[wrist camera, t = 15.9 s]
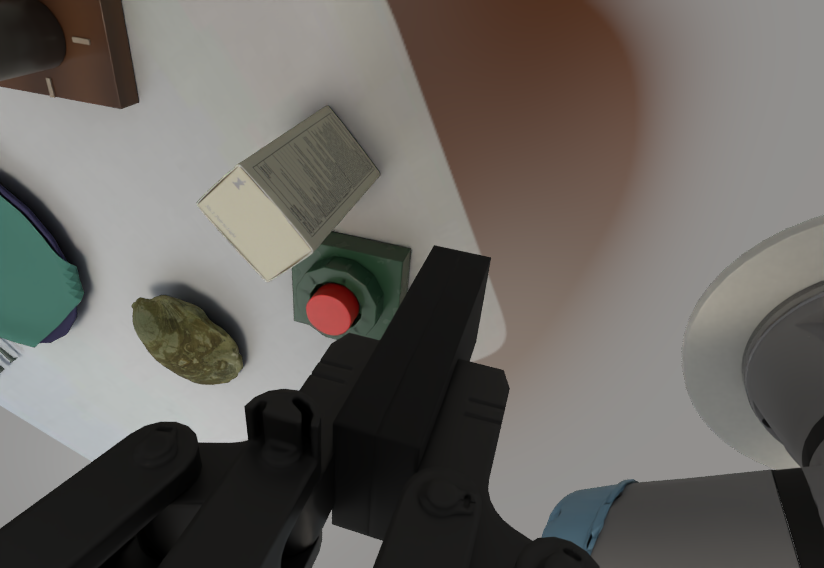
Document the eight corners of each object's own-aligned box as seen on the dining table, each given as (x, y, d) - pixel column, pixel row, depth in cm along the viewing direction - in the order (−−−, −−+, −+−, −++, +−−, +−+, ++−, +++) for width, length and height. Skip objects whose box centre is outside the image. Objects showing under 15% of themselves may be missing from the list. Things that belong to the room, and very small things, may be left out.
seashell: (199, 404, 58) (104, 399, 50) (186, 341, 61) (95, 326, 53) (269, 357, 55) (179, 342, 46) (251, 292, 58) (165, 268, 50)
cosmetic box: (289, 137, 42) (189, 201, 32) (330, 101, 40) (236, 159, 30) (343, 205, 44) (264, 287, 34) (386, 175, 41) (314, 253, 31)
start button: (360, 288, 42) (351, 301, 41) (358, 327, 44) (350, 340, 43) (315, 278, 43) (305, 290, 42) (315, 316, 45) (306, 329, 44)
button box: (411, 248, 44) (395, 274, 40) (403, 331, 48) (388, 360, 45) (302, 224, 46) (278, 247, 42) (305, 307, 50) (283, 333, 47)
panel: (115, -30, 39) (92, -28, 38) (139, 102, 44) (119, 109, 42) (-26, -49, 42) (-54, -48, 40) (12, 79, 47) (-12, 85, 45)
